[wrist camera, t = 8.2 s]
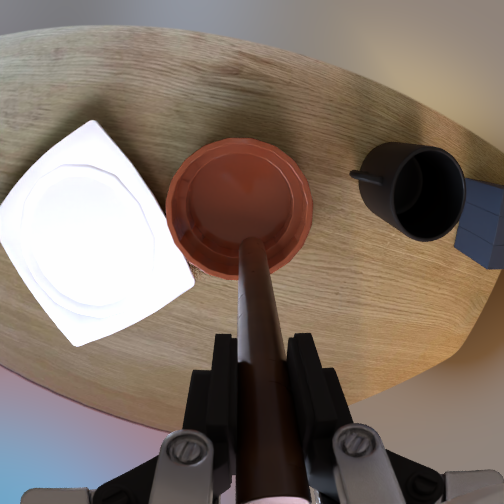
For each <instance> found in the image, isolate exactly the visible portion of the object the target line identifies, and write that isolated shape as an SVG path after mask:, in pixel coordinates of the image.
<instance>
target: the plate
mask: <svg viewBox="0 0 504 504" xmlns="http://www.w3.org/2000/svg"><path fill="white" fill-rule="evenodd" d="M0 242H1V244H2V245H3V247H4V249H5V251H6V253H7V254H8V256H9V258H10V259H11V261H12V263H13V264H14V266H15V268H16V269H17V271H18V273H19V274H20V276H21V277H22V279H23V280H24V282H25V284H26V285H27V287H28V288H29V289H30V291H31V292H32V294H33V295H34V296H35V298H36V299H37V301H38V302H39V303H40V305H41V306H42V307H43V309H44V310H45V311H46V312H47V314H48V315H49V316H50V318H51V319H52V320H53V321H54V323H55V324H56V325H57V326H58V328H59V329H60V330H61V331H62V332H63V334H64V335H65V336H66V337H67V338H68V339H69V341H70V342H71V343H72V344H73V345H74V346H80V345H83V344H86V343H88V342H91V341H94V340H97V339H100V338H102V337H105V336H108V335H111V334H113V333H115V332H117V331H119V330H122V329H124V328H126V327H128V326H130V325H132V324H134V323H136V322H138V321H140V320H142V319H143V318H145V317H147V316H149V315H151V314H152V313H154V312H156V311H157V310H159V309H160V308H162V307H163V306H165V305H166V304H168V303H169V302H171V301H172V300H174V299H175V298H176V297H178V296H179V295H181V294H182V293H184V292H185V291H187V290H188V289H190V288H191V287H193V286H194V284H195V277H194V275H193V273H192V271H191V269H190V267H189V264H188V262H187V260H186V258H185V256H184V255H183V254H182V253H181V251H180V250H179V249H178V248H177V246H176V245H175V244H174V241H173V239H172V236H171V233H170V231H169V228H168V226H167V220H166V216H165V214H164V212H163V210H162V209H161V207H160V205H159V203H158V201H157V200H156V198H155V196H154V194H153V193H152V191H151V190H150V188H149V187H148V185H147V184H146V183H145V181H144V180H143V178H142V177H141V175H140V174H139V172H138V171H137V169H136V168H135V166H134V165H133V163H132V162H131V161H130V160H129V159H128V157H127V156H126V155H125V154H124V153H123V151H122V150H121V149H120V148H119V147H118V145H117V144H116V143H115V142H114V141H113V140H112V138H111V137H110V136H109V135H108V134H107V132H106V131H105V130H104V129H103V127H102V126H101V125H100V124H99V123H98V121H95V120H90V121H89V122H87V123H86V124H84V125H83V126H81V127H80V128H78V129H77V130H75V131H74V132H72V133H71V134H70V135H68V136H67V137H65V138H64V139H63V140H61V141H60V142H59V143H57V144H56V145H55V146H53V147H52V148H51V149H49V150H48V151H47V152H46V153H45V154H44V155H43V156H42V157H41V158H40V159H39V160H38V161H37V162H36V163H34V164H33V165H32V166H31V167H30V168H29V170H28V171H27V172H26V173H25V174H24V175H23V176H22V178H21V179H20V180H19V181H18V182H17V183H16V185H15V186H14V187H13V188H12V190H11V191H10V193H9V194H8V196H7V197H6V198H5V200H4V201H3V203H2V204H1V206H0Z"/></svg>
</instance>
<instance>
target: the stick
mask: <svg viewBox="0 0 504 504" xmlns="http://www.w3.org/2000/svg"><path fill="white" fill-rule="evenodd" d="M237 338H238V401H237V453H236V504H311V503H312V500H311V494H310V489H309V482H308V476H307V471H306V465H305V459H304V453H303V449H302V446H301V440H300V435H299V429H298V423H297V418H296V412H295V406H294V401H293V395H292V390H291V384H290V379H289V373H288V368H287V362H286V354H285V349H284V344H283V339H282V333H281V328H280V323H279V318H278V312H277V307H276V302H275V297H274V292H273V287H272V281H271V276H270V271H269V266H268V261H267V256H266V251H265V246H264V243H263V242H262V241H261V240H260V239H259V238H256V237H248V238H246V239H244V240H243V241H242V242H241V244H240V246H239V276H238V321H237Z"/></svg>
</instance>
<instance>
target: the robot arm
mask: <svg viewBox="0 0 504 504" xmlns="http://www.w3.org/2000/svg"><path fill="white" fill-rule="evenodd" d="M286 362H287V368H288V373H289V379H290V384H291V390H292V395H293V401H294V406H295V412H296V418H297V423H298V429H299V435H300V440H301V446H302V449H303V453H304V459H305V465H306V471H307V476H308V482H309V486H311V487H312V488H314V494H315V500H316V504H504V479H503V476H502V475H501V474H500V473H499V472H497V471H495V470H476V471H453V472H452V471H450V472H445V473H444V474H439V473H438V472H437V471H435V470H433V469H431V468H429V467H426V466H424V465H421V464H419V463H416V462H414V461H411V460H409V459H407V458H405V457H402V456H400V455H398V454H395V453H393V452H391V451H389V450H387V449H385V448H384V445H383V443H382V440H381V438H380V436H379V434H378V433H377V432H376V431H375V430H374V429H373V428H371V427H369V426H367V425H364V424H359V423H353V420H352V417H351V414H350V411H349V408H348V405H347V402H346V399H345V397H344V394H343V391H342V388H341V385H340V382H339V380H338V377H337V374H336V371H335V369H334V368H322V366H321V362H320V359H319V356H318V353H317V350H316V347H315V344H314V341H313V337H312V335H311V333H295V335H294V337H293V338H289V340H288V349H287V359H286ZM237 401H238V338H232V335H231V334H216V335H215V343H214V351H213V360H212V369H211V370H193V372H192V376H191V382H190V387H189V393H188V398H187V404H186V410H185V416H184V422H183V428H182V430H178V431H175V432H173V433H171V434H169V435H168V436H167V437H166V438H165V439H164V440H163V442H162V445H161V448H160V452H159V455H157V456H156V457H154V458H152V459H151V460H149V461H147V462H145V463H143V464H141V465H139V466H138V467H136V468H134V469H132V470H130V471H128V472H126V473H124V474H122V475H120V476H118V477H117V478H114V479H113V480H111V481H108V482H106V483H104V484H103V485H101V486H100V487H98V488H97V489H95V490H89V489H88V488H87V487H84V488H33V489H29V490H27V491H26V492H25V493H24V494H23V496H22V497H21V502H20V504H220V497H221V494H222V493H224V492H225V491H226V490H228V489H229V488H230V487H231V485H230V484H231V483H232V475H236V453H237Z"/></svg>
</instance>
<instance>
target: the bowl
mask: <svg viewBox="0 0 504 504" xmlns="http://www.w3.org/2000/svg"><path fill="white" fill-rule="evenodd" d="M312 214H313V200H312V196H311V192H310V188H309V184H308V181H307V179H306V177H305V176H304V174H303V173H302V171H301V170H300V168H299V167H298V165H297V164H296V162H295V161H294V160H293V159H292V158H290V157H289V156H288V155H287V154H285V153H284V152H283V151H281V150H280V149H279V148H278V147H276V146H274V145H271V144H269V143H266V142H263V141H260V140H257V139H254V138H225V139H222V140H219V141H216V142H213V143H210V144H207V145H204V146H203V147H201V148H200V149H199V150H197V151H196V152H195V153H193V154H192V155H191V156H189V157H188V158H187V159H185V161H184V162H183V163H182V165H181V166H180V168H179V169H178V171H177V172H176V174H175V175H174V176H173V178H172V180H171V183H170V187H169V190H168V194H167V198H166V220H167V226H168V228H169V231H170V233H171V236H172V239H173V241H174V244H175V245H176V246H177V248H178V249H179V250H180V251H181V253H182V254H183V255H184V256H185V258H186V259H187V260H188V261H189V262H190V263H192V264H193V265H195V266H196V267H198V268H199V269H201V270H202V271H204V272H205V273H207V274H210V275H213V276H216V277H220V278H223V279H226V280H238V276H239V246H240V244H241V242H242V241H243V240H244V239H246V238H248V237H256V238H259V239H260V240H261V241H262V242H263V243H264V246H265V251H266V256H267V261H268V266H269V271H270V274H272V273H273V272H275V271H276V270H278V269H279V268H281V267H283V266H284V265H286V264H287V263H289V262H290V261H291V259H292V258H293V257H294V256H295V255H296V254H297V252H298V251H299V250H300V249H301V248H302V246H303V245H304V242H305V240H306V238H307V235H308V233H309V230H310V228H311V225H312Z"/></svg>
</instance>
